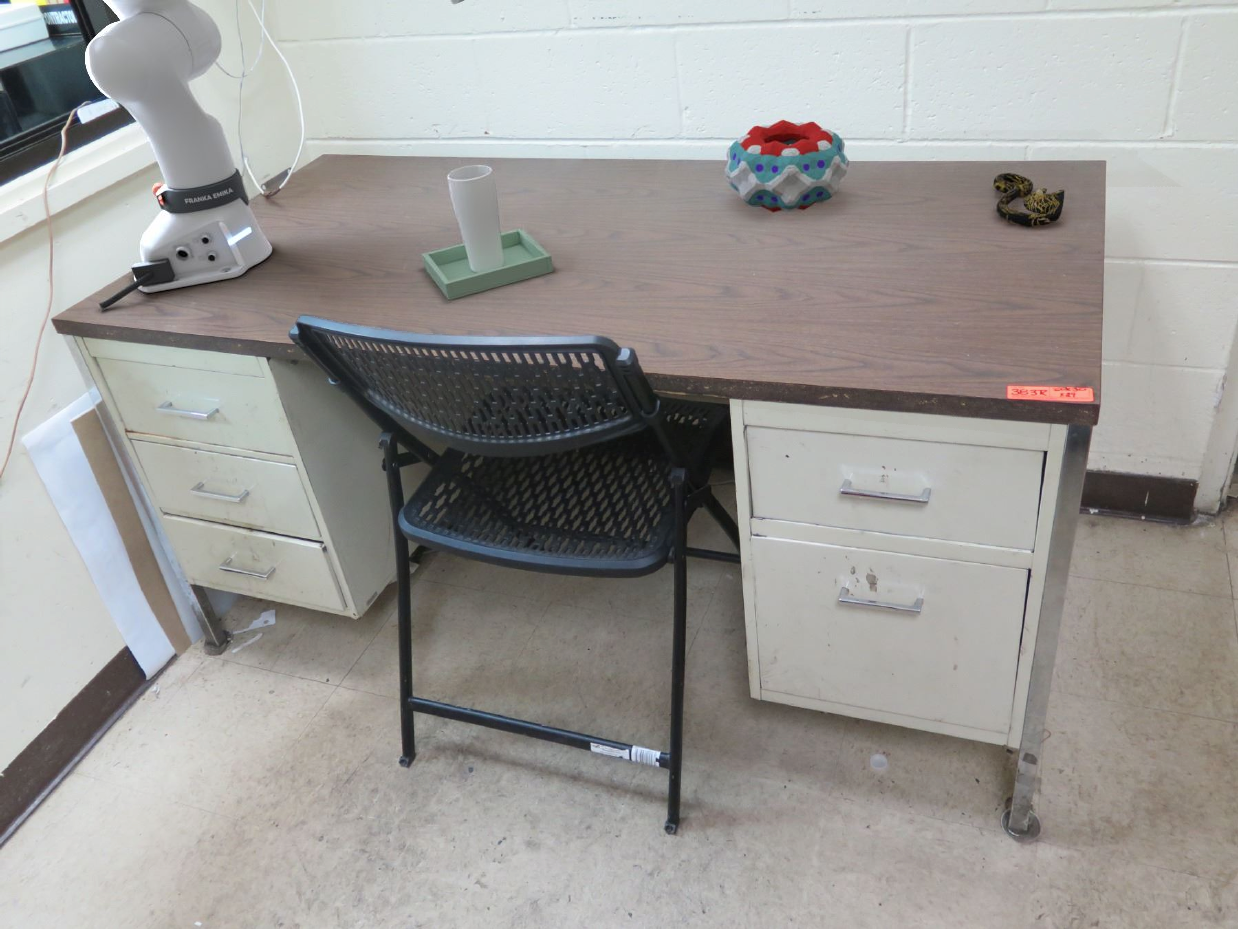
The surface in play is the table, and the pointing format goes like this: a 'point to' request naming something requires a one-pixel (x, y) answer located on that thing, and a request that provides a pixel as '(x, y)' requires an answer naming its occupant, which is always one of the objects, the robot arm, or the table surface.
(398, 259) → the table surface
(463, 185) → the drinking glass
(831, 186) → the decorative model
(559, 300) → the table surface
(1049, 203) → the rubber snake
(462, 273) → the tray
